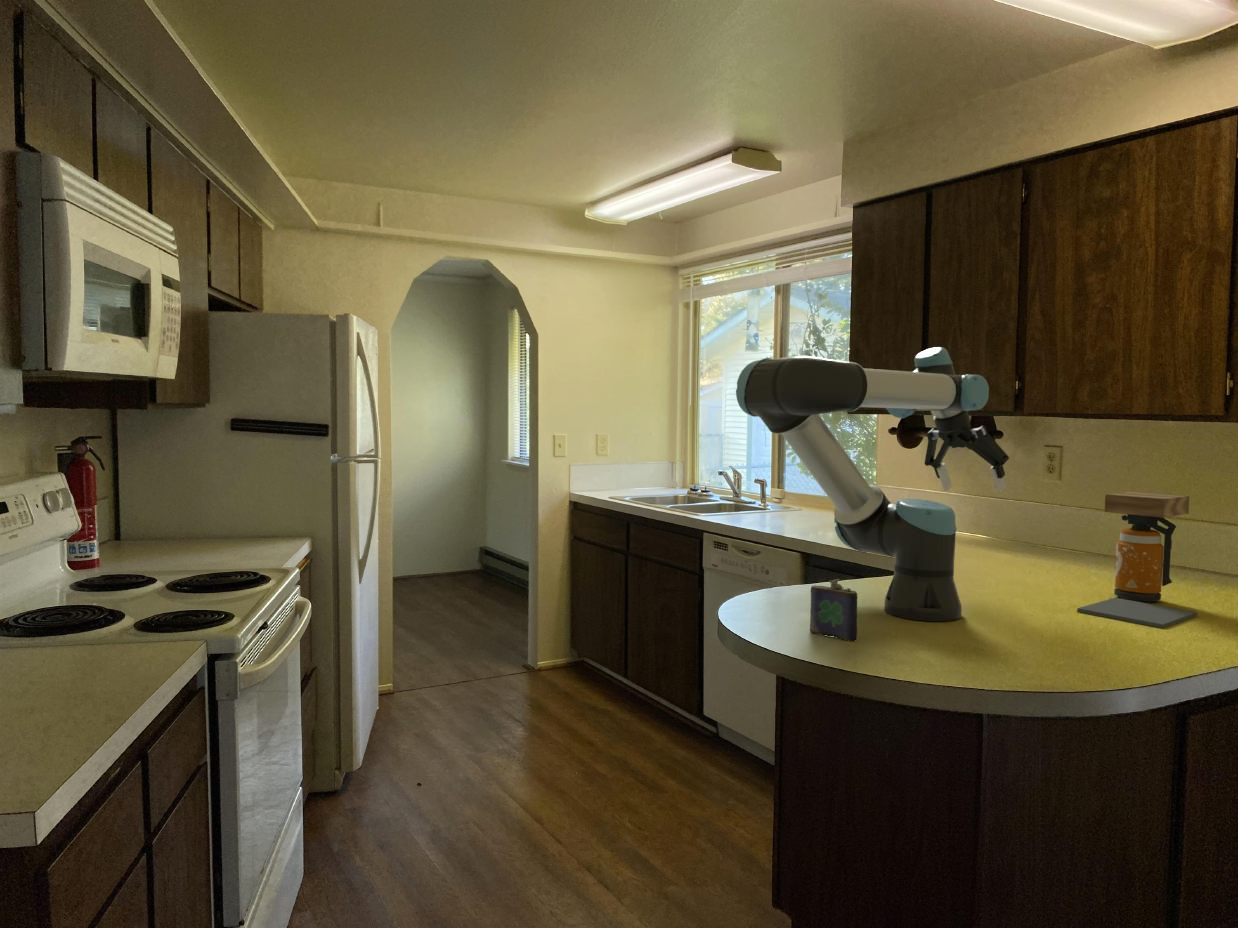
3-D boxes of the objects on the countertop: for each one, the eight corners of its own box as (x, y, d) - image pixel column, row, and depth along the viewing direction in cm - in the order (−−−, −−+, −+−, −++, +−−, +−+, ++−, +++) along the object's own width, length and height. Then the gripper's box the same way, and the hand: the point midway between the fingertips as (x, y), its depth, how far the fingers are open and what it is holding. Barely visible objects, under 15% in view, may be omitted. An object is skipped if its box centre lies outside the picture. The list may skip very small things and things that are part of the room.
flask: (807, 632, 152) (808, 576, 152) (814, 629, 154) (816, 574, 154) (852, 642, 146) (854, 584, 145) (860, 639, 148) (862, 581, 147)
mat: (1162, 628, 158) (1162, 624, 158) (1077, 611, 171) (1077, 608, 171) (1197, 615, 169) (1197, 611, 169) (1114, 601, 182) (1114, 597, 182)
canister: (1113, 593, 190) (1117, 509, 189) (1170, 599, 185) (1174, 512, 183) (1114, 600, 183) (1118, 512, 181) (1173, 606, 177) (1178, 516, 176)
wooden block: (1163, 517, 174) (1164, 499, 173) (1104, 511, 183) (1105, 494, 183) (1188, 513, 182) (1189, 495, 182) (1130, 508, 191) (1131, 491, 191)
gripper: (1008, 399, 181) (1032, 481, 187) (910, 407, 201) (935, 480, 207) (993, 415, 177) (1018, 497, 183) (894, 421, 197) (920, 495, 203)
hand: (974, 489), depth 195 cm, fingers open, 13 cm apart
